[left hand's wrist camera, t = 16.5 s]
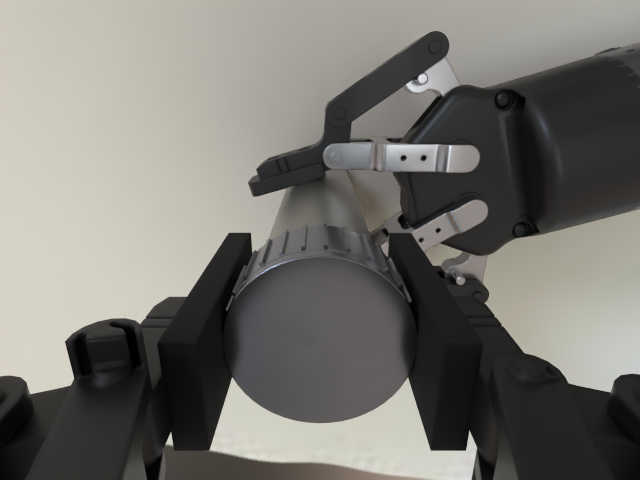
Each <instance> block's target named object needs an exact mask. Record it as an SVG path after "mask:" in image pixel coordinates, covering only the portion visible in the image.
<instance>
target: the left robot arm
mask: <svg viewBox="0 0 640 480" xmlns="http://www.w3.org/2000/svg"><path fill="white" fill-rule="evenodd" d="M251 256H252V244H251V233H229V234H228V235H227V237H226V238H225V240H224V241H223V243H222V244H221V246H220V247H219V249H218V251H217V252H216V254H215V255H214V257H213V258H212V260H211V261H210V263H209V264H208V266H207V267H206V269H205V270H204V272H203V273H202V275H201V277H200V278H199V280H198V281H197V283H196V284H195V286H194V287H193V289H192V290H191V292H190V293H189V295H188V296H187V297H168V298H167V299H165V300H163V301H162V302H160V303H159V304H157V305H155V306H154V307H153V309H152V310H151V311H150V312H149V314H148V315H147V316H146V319H144V320H143V321H142V323H141V324H139V323H138V322H136V321H134V320H130V319H126V318H123V319H109V320H104V321H99V322H96V323H93V324H90V325H88V326H85V327H83V328H81V329H80V330H78V331H76V332H75V333H73V334H72V335H71V336H70V337H69V338H68V339H67V340H66V341H65V343H66V347H67V351H68V355H69V359H70V363H71V367H72V371H73V375H74V380H73V383H72V385H71V386H67V387H64V388H59V389H54V390H49V391H45V392H40V393H35V394H30V393H29V389H28V386H27V383H26V382H25V381H24V380H23V379H22V378H20V377H15V376H1V377H0V480H164V476H165V468H166V465H165V458H164V452H163V448H164V446H165V444H166V442H167V439H168V437H169V435H170V432H171V433H172V439H173V446H174V450H178V451H181V450H182V451H184V450H186V451H189V450H191V451H199V450H200V451H203V450H210V447H211V443H212V440H213V437H214V434H215V430H216V427H217V424H218V421H219V418H220V414H221V411H222V408H223V405H224V401H225V398H226V395H227V392H228V389H229V385H230V382H231V379H232V375H231V373H230V371H229V369H228V367H227V364H226V361H225V358H224V349H223V339H222V330H223V324H224V320H225V317H226V313H225V310H226V307H227V305H228V303H229V300H230V298H231V296H232V295H231V293H232V291H233V289H234V287H235V284H236V282H237V280H238V278H239V275H240V273H241V271H242V269H243V266H244V265H246V266H247V265H248V263H249V261H250V259H251ZM390 257H391V258H392V260H393V262H394V264H395V266H396V268H397V271H398V273H400V275H401V277H402V279H403V281H404V284H405V286H406V288H407V290H408V293H409V295H410V297H411V299H412V302H413V304H412V305H410V306H411V308H412V310H413V313H414V315H415V319H416V323H417V328H418V341H417V352H416V359H415V362H414V365H413V367H412V370H411V372H410V374H409V375H408V378H409V381H410V385H411V388H412V391H413V394H414V397H415V401H416V404H417V407H418V410H419V414H420V417H421V420H422V423H423V426H424V430H425V433H426V436H427V439H428V443H429V446H430V449H431V450H455V451H466V447H467V441H468V435H469V430H470V432H471V434H472V437H473V439H474V441H475V443H476V446H477V452H476V458H475V463H474V469H473V475H472V480H640V375H638V374H627V375H621V376H619V377H618V378H617V379H616V380H615V381H614V384H613V387H612V391H611V393H610V392H605V391H600V390H595V389H590V388H585V387H580V386H576V385H572V384H568V382H567V380H566V378H565V377H564V375H563V374H562V373H561V372H560V370H559V369H558V368H556V367H555V366H553V365H552V364H550V363H549V362H548V361H545V360H543V359H541V358H538V357H536V356H533V355H529V354H525V353H524V352H523V351H522V350H521V349H520V347H519V346H518V345H517V344H516V342H515V341H514V340H513V338H512V337H511V336H510V335H509V333H508V332H507V331H506V330H505V328H504V327H502V326H501V323H500V322H499V321H498V319H497V318H495V317H494V314H493V313H492V312H491V310H490V309H489V308H488V307H487V305H486V304H484V303H482V302H481V301H479V300H478V299H476V298H474V297H473V296H452V294H451V293H450V291H449V290H448V288H447V287H446V285H445V284H444V282H443V281H442V279H441V278H440V276H439V275H438V273H437V272H436V270H435V268H434V267H433V265H432V264H431V262H430V261H429V259H428V258H427V256H426V255H425V253H424V252H423V250H422V249H421V247H420V246H419V244H418V243H417V241H416V239H415V238H414V236H413V235H412V233H389V247H388V258H390Z"/></svg>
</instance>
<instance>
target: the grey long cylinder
mask: <svg viewBox="0 0 640 480" xmlns="http://www.w3.org/2000/svg"><path fill="white" fill-rule="evenodd" d="M323 223H327V226H335V227H340V228H343V226H345V227H347V230H350V231H353V232H356V233H358V234H360V235H361V234H362V233H363V234H365V236H366V238H367V239H368V240H370V241H371V242H372V240H371V237H370V234H369V232H368V229H367V226H366V223H365V220H364V217H363V214H362V212H361V209H360V206H359V203H358V200H357V197H356V195H355V192H354V189H353V186H352V183H351V180H350V177H349V175H348V173H347V171H346V170H333V169H332V170H328V171H326V177H323V178H320V179H316V180H313V181H308V182H305V183H302V184H299V185H295V186H292V187H288V188H287V189H286V192H285V195H284V197H283V200H282V203H281V206H280V209H279V211H278V214H277V217H276V220H275V223H274V225H273V228H272V231H271V234H270V237H269V238H270V239H271V240H272V239H273V238H275V237H277V236H278V235H280V234H283V232H284V230H286V229H287V230H288V231H290V230H293V229H296V228H300V227H303V225H305V224H307V226H314V225H323Z"/></svg>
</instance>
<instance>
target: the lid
mask: <svg viewBox="0 0 640 480" xmlns="http://www.w3.org/2000/svg"><path fill="white" fill-rule="evenodd" d="M231 295H232V296H231V298H230V300H229V303H228V305H227V307H226V310H225V313H226V317H225V320H224V324H223V330H222V339H223V349H224V358H225V361H226V364H227V367H228V369H229V371H230V373H231V375H232V377H233V378H234V380H235V381H236V383H237V385H238V386H239V387H240V388H241V389H242V390H243V392H244V393H245V394H246V395H247V396H249V397H250V398H251V399H252V400H253V401H254V402H256V403H257V404H259V405H260V406H262V407H263V408H265V409H267V410H269V411H271V412H272V413H275V414H277V415H280V416H282V417H285V418H289V419H292V420H296V421H302V422H310V423H331V422H338V421H344V420H348V419H352V418H355V417H358V416H361V415H363V414H366V413H368V412H370V411H372V410H374V409H375V408H377V407H378V406H380V405H382V404H383V403H385V402H386V401H387V400H388V399H389V398H391V397H392V396H393V395H394V394H395V393H396V392H397V391H398V390H399V389H400V387H401V386H402V385H403V383H404V382H405V380H406V379H407V377H408V375H409V374H410V372H411V370H412V367H413V365H414V362H415V359H416V352H417V341H418V328H417V323H416V319H415V315H414V313H413V310H412V308H411V306H410V305H412V304H413V302H412V299H411V297H410V295H409V293H408V290H407V288H406V286H405V284H404V281H403V279H402V277H401V275H400V273H398V271H397V268H396V266H395V264H394V262H393V260H392V258H391V257H390V258H388V257H387V256H386V255H385V254H384V252H383V251H382V248H381V246H380V245H379V244H377V245H375V244H374V243H373V242H371V241H370V240H368V239H367V238H366V236H365V234H363V233H362V234H361V235H360V234H358V233H356V232H353V231H350V230H347V227H345V226H343V228H340V227H335V226H327V223H323V225H314V226H307V224H305V225H303V227H300V228H296V229H293V230H290V231H288V230H287V229H286V230H284V232H283V234H280V235H278V236H277V237H275V238H273V239H272V240H271V239H270V238H269V239H268V240H267V241H266V244H265V245H264V246H263V247H261V248H260V249H259V250H258V252H257V251H256V250H255V251H254V252H253V254H252V256H251V259H250V261H249V263H248V265H247V266H246V265H244V266H243V269H242V271H241V273H240V275H239V278H238V280H237V282H236V284H235V287H234V289H233V291H232V293H231Z"/></svg>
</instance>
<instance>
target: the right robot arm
mask: <svg viewBox="0 0 640 480" xmlns="http://www.w3.org/2000/svg"><path fill="white" fill-rule="evenodd" d="M448 50H449V42H448V39H447V37H446V36H445V35H444V34H443V33H442V32H438V31H434V32H430V33H428V34H427V35H425V36H423V37H421V38H420V39H418V40H416V41H414V42H413V43H412V44H410V45H409V46H407V47H406V48H404V49H403V50H402V51H400V52H399V53H397V54H396V55H395V56H393V57H392V58H390V59H389V60H387V61H386V62H385V63H383V64H382V65H380V66H379V67H378V68H376V69H375V70H373V71H372V72H370V73H369V74H368V75H366V76H365V77H363V78H362V79H361V80H359V81H358V82H356V83H355V84H353V85H352V86H351V87H349V88H348V89H346V90H345V91H344V92H342V93H341V94H339V95H338V96H336V97H335V98H334V99H332V100H331V101H330V102H329V103H328V104H327V106H326V109H325V125H324V134H323V136H322V138H321V140H320V141H319V142H317V143H316V144H314V145H311V146H307V147H304V148H301V149H297V150H294V151H290V152H287V153H284V154H280V155H277V156H273V157H270V158H268V159H267V160H265V161H264V162H263V163H262V164H260V166H259V167H258V168H257V169H256V170H257V173H258V175H256V176H254V177H252V178H251V180H250V181H249V182H248V184H249V187H250V189H251V192H252V195H253V196H254V197H255V196H260V195H264V194H267V193H271V192H274V191H278V190H281V189H285V188H288V187H292V186H295V185H299V184H302V183H305V182H308V181H313V180H316V179H320V178H323V177H326V171H328V170H332V169H333V170H375V171H381V172H393V174H394V176H395V178H396V180H397V182H398V183H399V185H400V187H401V198H400V204H401V209H402V211H400V212H398V213H397V214H395V215H393V216H392V217H390V218H388V219H387V220H386V221H385V222H384V223H383V225H382V226H380V227H379V228H377V229H375V230H374V231H372V232H370V233H369V234H370V237H371V240H372V242H373V243H374V244H375V245H377V244H379V245H380V246H381V248H382V251H383V252H384V254H385V255H386V256H387V257H388V247H389V233H412V235H413V236H414V238H415V239H416V241H417V243H418V244H419V246H420V247H421V249H422V250H423V252H424V251H426V250H428V249H430V248H431V247H433V246H435V245H437V244H439V243H441V244H444V245H446V246H449V247H452V248H455V249H458V250H461V251H463V252H462V254H461V255H459V256H458V257H456V258H450V259H446V260H444V262H443V263H442V264H441V266H433V267H434V268H435V270H436V272H437V273H438V275H439V276H440V278H441V279H442V281H443V282H444V284H445V285H446V287H447V288H448V290H449V291H450V293H451V294H452V296H473V297H474V298H476V299H478V300H479V301H481V302H482V303H485V302H486V301H487V299H488V297H489V292H488V290H487V288H486V287H485V286H484V285H483V276H484V271H485V265H486V260H487V255H490V254H492V253H494V252H496V251H497V250H498V249H500V248H501V247H502V246H503V245H505V244H506V243H508V242H509V241H511V240H513V239H516V238H520V237H527V236H535V235H541V234H546V233H549V232H553V231H557V230H561V229H565V228H569V227H573V226H576V225H580V224H584V223H588V222H592V221H596V220H599V219H603V218H607V217H611V216H615V215H618V214H622V213H626V212H630V211H634V210H638V209H640V43H637V44H633V45H630V46H626V47H623V48H622V47H618V48H611V49H607V50H605V51H602V52H600V53H597V54H595V55H594V56H593V57H589V58H586V59H582V60H579V61H575V62H572V63H569V64H565V65H562V66H559V67H555V68H552V69H549V70H545V71H542V72H539V73H535V74H532V75H529V76H525V77H522V78H518V79H515V80H512V81H508V82H505V83H502V84H498V85H495V86H491V87H487V88H480V87H475V86H472V85H461V84H460V82H459V80H458V78H457V76H456V75H455V73H454V71H453V69H452V67H451V65H450V63H449V61H448V59H447V57H446V55H447V53H448ZM402 87H403V88H404V89H405V90H406V91H407V92H409V93H423V92H425V91H427V90H431V91H433V92H434V93H435V94H436V95H437V97H436V99H435V100H434V101H433V102H432V103H431V105H430V106H429V107H428V108H427V109H426V111H425V112H424V113H423V114H422V115H421V117H420V118H419V119H418V120H417V122H416V123H415V124H414V125H413V126H412V128H411V129H410V130H409V131H408V132H407V134H406V135H405V136H404V137H369V138H350V133H351V122H352V121H353V120H355V119H356V118H358V117H359V116H361V115H362V114H364V113H365V112H367V111H368V110H369V109H371V108H372V107H374V106H375V105H377V104H378V103H380V102H381V101H383V100H384V99H385V98H387V97H388V96H390V95H391V94H393V93H394V92H396V91H397V90H399V89H400V88H402ZM419 238H420V239H419Z"/></svg>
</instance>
